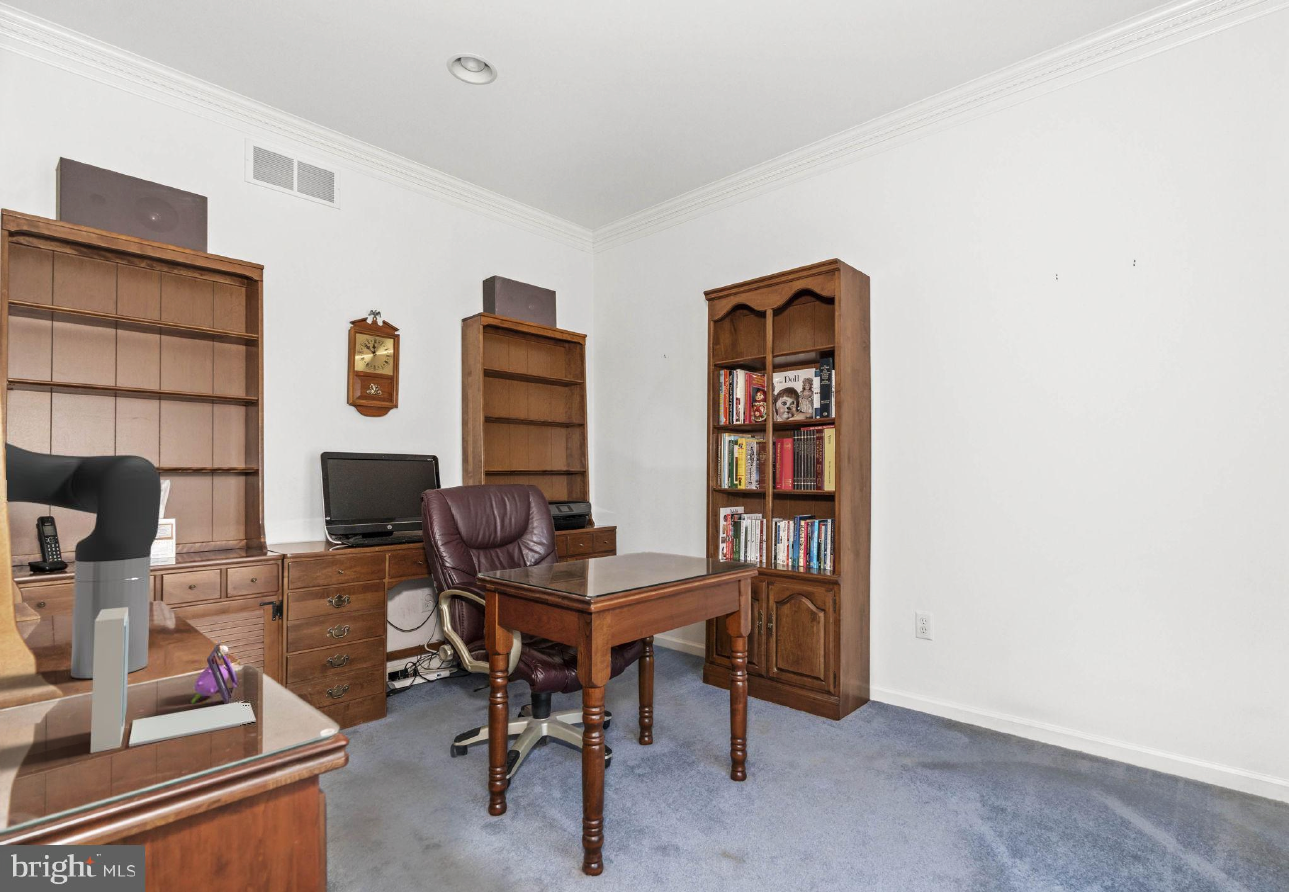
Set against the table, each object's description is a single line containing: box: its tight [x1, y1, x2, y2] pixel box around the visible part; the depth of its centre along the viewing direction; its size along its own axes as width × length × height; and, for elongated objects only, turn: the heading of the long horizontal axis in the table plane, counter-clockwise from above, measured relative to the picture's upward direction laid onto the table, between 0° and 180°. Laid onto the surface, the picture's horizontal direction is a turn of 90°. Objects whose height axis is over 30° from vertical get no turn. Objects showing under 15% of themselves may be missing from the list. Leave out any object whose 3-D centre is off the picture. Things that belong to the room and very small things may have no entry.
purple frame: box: [190, 643, 238, 704], centre depth 88 cm, size 7×5×9 cm
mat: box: [128, 700, 257, 748], centre depth 79 cm, size 9×12×1 cm
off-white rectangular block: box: [90, 607, 129, 754], centre depth 75 cm, size 8×3×14 cm, turn 36°
